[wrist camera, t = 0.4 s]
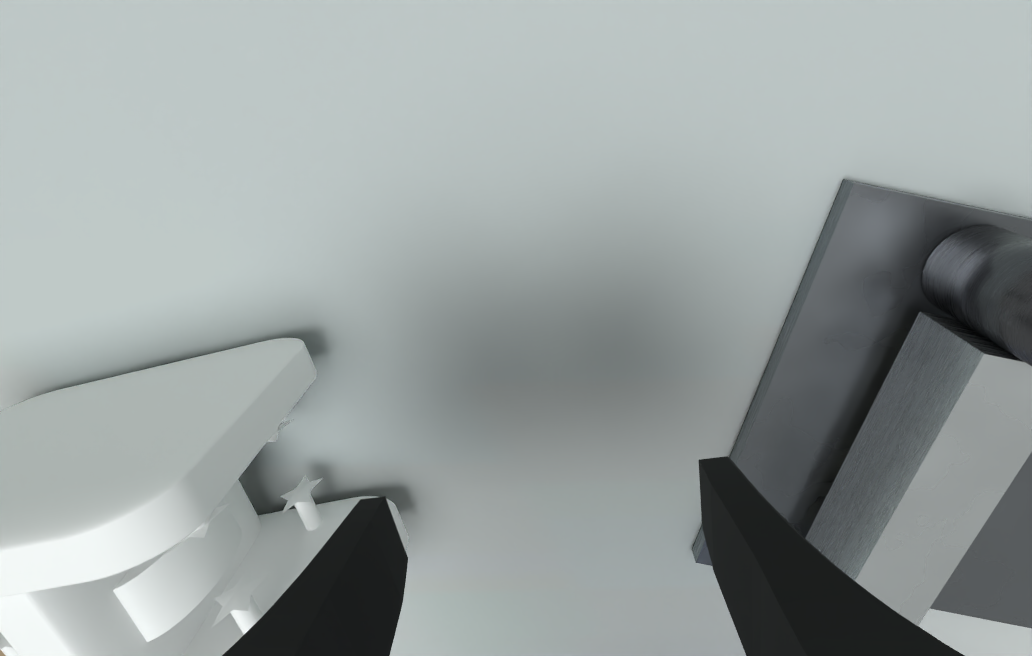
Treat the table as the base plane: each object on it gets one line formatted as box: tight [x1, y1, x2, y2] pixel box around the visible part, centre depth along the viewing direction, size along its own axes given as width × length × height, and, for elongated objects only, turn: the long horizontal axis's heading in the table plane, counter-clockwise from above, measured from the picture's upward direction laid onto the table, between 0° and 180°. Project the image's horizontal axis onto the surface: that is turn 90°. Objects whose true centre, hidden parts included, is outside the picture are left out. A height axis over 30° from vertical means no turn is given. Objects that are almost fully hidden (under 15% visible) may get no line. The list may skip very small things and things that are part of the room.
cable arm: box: [805, 225, 1032, 626], centre depth 21 cm, size 16×3×5 cm, turn 169°
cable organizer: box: [0, 338, 409, 656], centre depth 22 cm, size 15×11×12 cm
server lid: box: [692, 179, 1032, 628], centre depth 24 cm, size 17×16×1 cm
